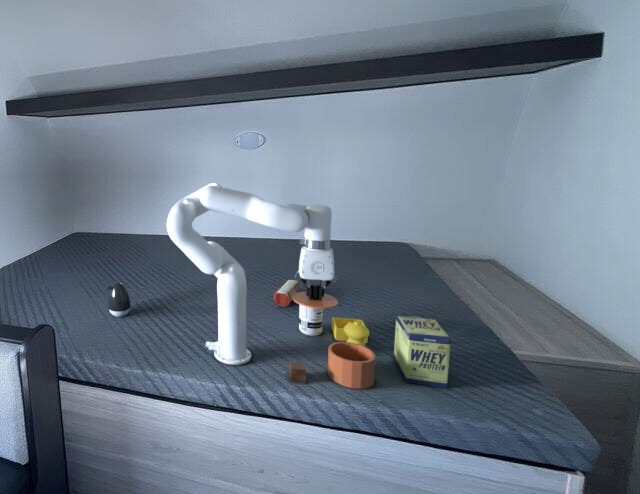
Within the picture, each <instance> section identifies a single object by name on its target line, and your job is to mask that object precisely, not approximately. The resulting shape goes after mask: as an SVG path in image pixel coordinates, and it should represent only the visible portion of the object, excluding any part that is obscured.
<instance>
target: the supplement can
mask: <svg viewBox="0 0 640 494" xmlns="http://www.w3.org/2000/svg"><path fill="white" fill-rule="evenodd" d="M298 307H299V308H298V310H299V311H298V313H299V314H298V329H299V331H300V332H301V333H302V334H304V335H307V336H314V337H315V336H319V335H321V334H322V333H323V315H324V313H323V312H324V309H316V308H310V307H305V306H302V305H300V304H298Z"/></svg>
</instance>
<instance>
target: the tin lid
mask: <svg viewBox="0 0 640 494" xmlns="http://www.w3.org/2000/svg"><path fill="white" fill-rule="evenodd" d="M319 285H320V283H312V282H311V287H312V299H311V300H309V298H308V296H306V291H299V292H298V293H295V294H294V295H293V296H292V299H293V300H292V301H293V302H294V303H296V304H298V305H299V304H300V305H302V306H305V307H310V308H316V309H323V310H327V309H328V310H329V309H334V308H336V307H338V305H339V300H338V299H337V298H336V297H334V296H332V295H329V294H327V293H324V297H322V300H319Z"/></svg>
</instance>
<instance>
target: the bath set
mask: <svg viewBox="0 0 640 494" xmlns="http://www.w3.org/2000/svg"><path fill="white" fill-rule="evenodd" d="M331 331H332V333H333V336H334V339H335V341H339V342H351V343H355V344H359V345H362V346H364V347H366V344H368V343H369V336H370V334H371V333H370V330H369V328H368V327H367V326H366V325H365V323H364V321H363V319H357V318H344V317H335V316H333V317H331Z"/></svg>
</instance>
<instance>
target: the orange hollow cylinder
mask: <svg viewBox="0 0 640 494" xmlns="http://www.w3.org/2000/svg"><path fill="white" fill-rule="evenodd" d="M376 359H377V357H376V353H375V352H374V351H373V350H372V349H370V348H369V347H367V346H365V347H364V346H362V345H359V344H355V343H351V342H347V341H336V342H335V341H334V342H333V343H331V344H329V346H328V349H327V375H328V377H329V378H330V379H331V380H332V381H333V382H335V383H336V384H338V385H341V386H343V387H346V388H349V389H354V390H355V389H356V390H365V389H369V388H371V387H373V386H374V384H375V379H376V378H375V375H376Z"/></svg>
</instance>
